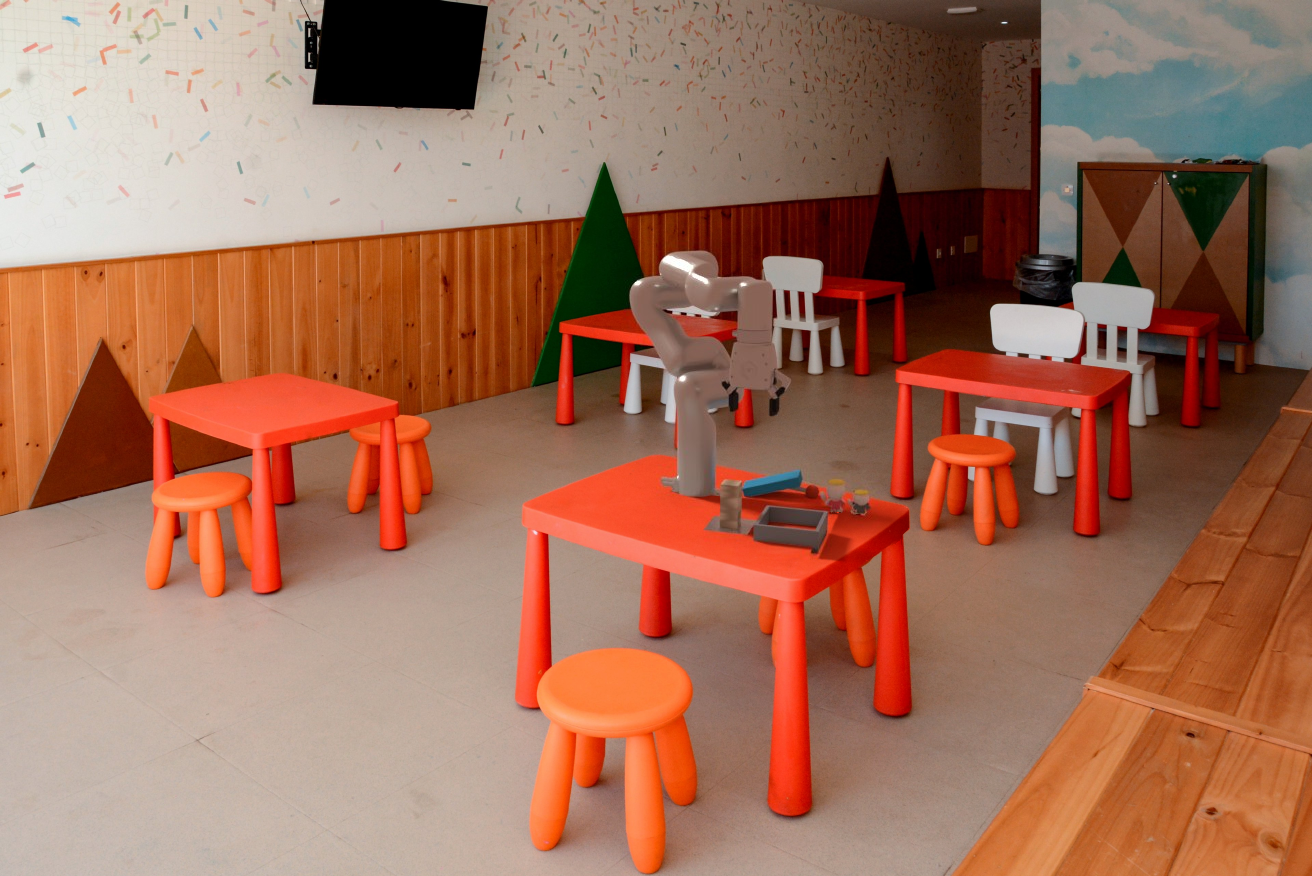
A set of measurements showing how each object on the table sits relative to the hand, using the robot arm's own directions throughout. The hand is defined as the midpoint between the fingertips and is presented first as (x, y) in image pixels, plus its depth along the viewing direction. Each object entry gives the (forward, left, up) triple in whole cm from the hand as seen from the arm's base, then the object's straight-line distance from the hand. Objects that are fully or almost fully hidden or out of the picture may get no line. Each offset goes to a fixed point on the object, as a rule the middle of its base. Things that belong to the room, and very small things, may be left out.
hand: (753, 413), depth 237 cm
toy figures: (+20, +15, -27) cm, 37 cm away
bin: (+11, -7, -26) cm, 29 cm away
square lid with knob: (-3, -6, -26) cm, 27 cm away
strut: (-3, -6, -25) cm, 26 cm away
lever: (+2, +24, -27) cm, 36 cm away
